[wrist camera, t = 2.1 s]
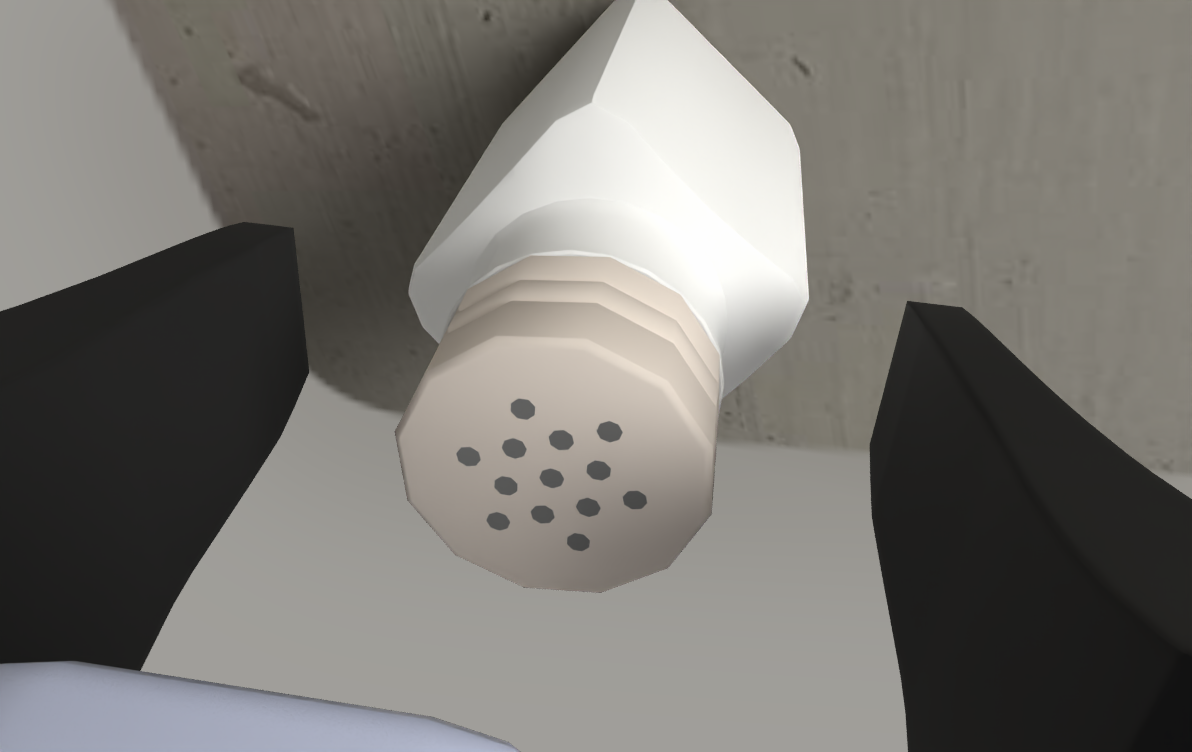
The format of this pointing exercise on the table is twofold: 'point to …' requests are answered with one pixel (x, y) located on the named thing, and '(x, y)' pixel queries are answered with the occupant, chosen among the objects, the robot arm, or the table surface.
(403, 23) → the table surface
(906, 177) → the table surface
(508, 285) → the salt shaker
